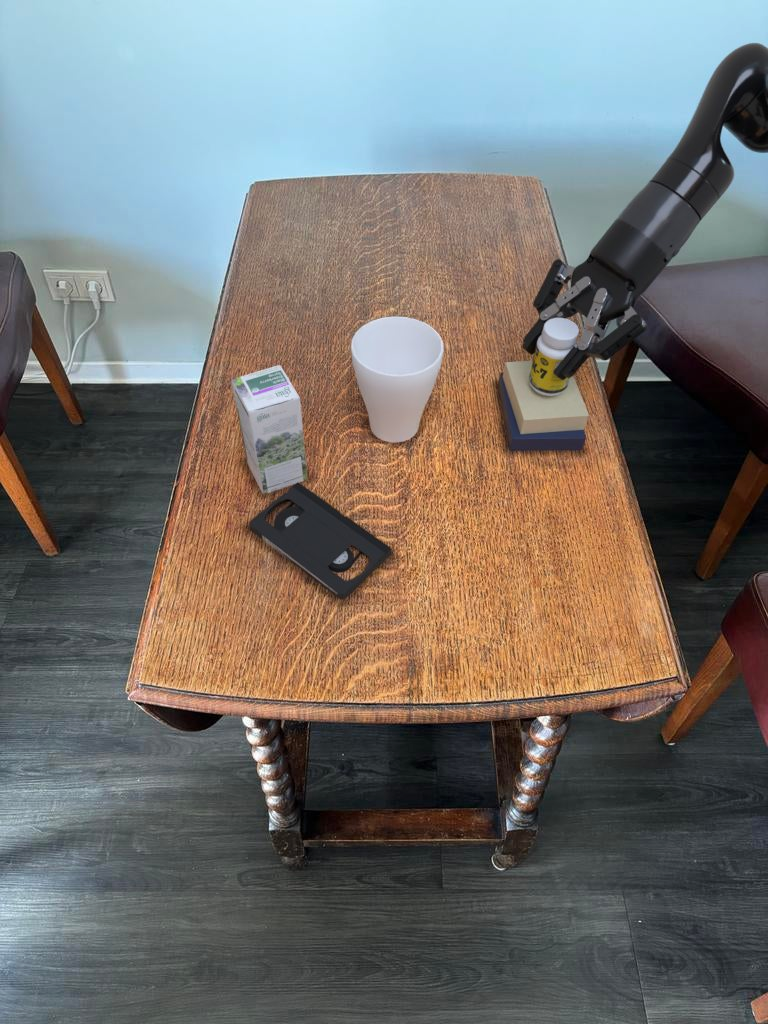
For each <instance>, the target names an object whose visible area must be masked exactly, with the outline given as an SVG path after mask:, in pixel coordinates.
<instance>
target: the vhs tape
mask: <svg viewBox="0 0 768 1024" xmlns="http://www.w3.org/2000/svg"><path fill="white" fill-rule="evenodd" d="M286 500H290V501H291V502H290V503H289V504H288V505H286V506H285V507H284V508H283V509H282V510H281V511H279V512H278V513H277V514H276V516H275V517H274V519H273V525H272V524H271V523H269V522H268V521H267V520H266V519H265V518H266V516H267V515H268V514H270V513H271V512H272V511H273V510H275V508H277V507H278V506H279V505H280V504H282V503H283V502H284V501H286ZM295 505H296V506H295ZM249 528H250V531H251V532H252V533H253V534H254V535H256V536H257V537H258V538H260V539H261V540H262V541H263V542H265V543H266V544H267V545H269V546H270V547H271V548H273V549H274V550H275V551H277V552H278V553H279V554H281V556H283V557H284V558H285V559H287V560H288V561H289V562H291V563H292V564H294V566H295V567H297V568H299V569H300V570H301V571H303V573H305V574H306V575H308V576H309V577H310V578H311V579H313V580H314V581H315V582H316V583H318V584H319V585H321V587H323V588H325V589H326V590H327V591H329V593H331V594H332V595H333V596H335V597H336V598H337V599H339V600H341V601H343V600H346V599H347V598H348V597H349V596H350V595H351V594H352V593H353V592H354V591H355V590H356V589H357V588H358V587H359V586H360V585H361V584H362V583H363V582H364V581H365V580H367V579H368V578H369V577H370V575H372V574H373V573H374V572H375V571H376V570H377V569H378V568H379V567H380V566H381V565H382V564H383V563H384V562H385V561H386V560H387V559H389V557H391V555H392V547H390V546H389V545H387V544H386V543H384V542H383V541H382V540H380V538H377V537H376V536H375V535H373V534H372V533H371V532H369V531H368V530H366V529H365V528H363V527H362V526H360V525H359V524H358V523H357V522H355V521H354V520H352V519H351V518H349V517H348V516H347V515H344V514H343V513H341V511H339V510H338V509H336V508H335V507H334V506H332V505H331V504H329V503H328V502H327V501H325V500H324V499H322V498H321V497H320V496H318V495H316V493H314V492H312V491H311V490H310V489H308V488H307V487H306V486H304V485H303V484H301V482H299V483H298V482H297V483H296V484H293V485H291V487H290V488H289V489H288V490H287V492H284V493H283V494H282V495H280V496H279V497H278V498H277V499H276V500H274V501H273V502H272V503H270V504H269V505H268V506H267V507H266V508H265V509H263V510H262V511H261V512H260V513H258V514H257V515H255V516H254V517H253V518H252V519H251V520H250V521H249ZM351 546H353V547H354V548H356V549H357V550H358V553H357V554H356V556H355V557H354V553H353V551H352V550H351V548H350V547H351ZM362 554H364V555H365V556H367V557H368V558H369V562H368V564H367V566H366V567H365V569H364V570H363V571H362V572H360V574H358V575H356V576H355V577H353V578H350V579H348V580H346V579H344V578H342V577H341V576H339V575H338V574H337V573H339V574H340V573H342V574H343V573H345V572H348V571H349V570H350V569H352V568H353V565H354V564H355V563H356V561H357V560H358V559H359V557H360V556H361V555H362Z"/></svg>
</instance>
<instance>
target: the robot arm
mask: <svg viewBox="0 0 768 1024" xmlns="http://www.w3.org/2000/svg"><path fill="white" fill-rule="evenodd" d="M723 128H725V129H726V130H727V131H728V132H729V133H730V134H731V135H732V136H733V137H734V138H735V139H737V141H739V143H740V144H742V146H744V147H745V149H748V150H749V151H751V152H753V153H758V154H759V153H760V154H768V47H767V46H765V45H764V44H762V43H760V42H750V43H745V44H743V45H741V46H739V47H737V48H735V49H734V50H732V51H731V52H729V54H727V55H726V56H725V57H724V58H723V59H722V60H721V61H720V62H719V64H718V65H717V66H716V68H715V70H714V71H713V73H712V74H711V75H710V78H709V80H708V81H707V83H706V85H705V87H704V90H703V92H702V93H701V96H700V98H699V101H698V103H697V105H696V108H695V110H694V112H693V113H692V116H691V118H690V120H689V122H688V124H687V126H686V127H685V130H684V132H683V134H682V135H681V137H680V139H679V140H678V142H677V143H676V146H675V147H674V149H673V150H672V151H671V153H670V154H669V155H668V156H667V158H666V159H665V160H664V162H663V163H662V164H661V165H660V167H659V168H658V169H657V170H656V172H655V173H654V174H653V176H652V177H651V178H650V180H649V181H648V182H647V183H646V184H645V185H644V186H643V187H642V188H641V190H640V191H638V193H636V195H634V196H633V198H631V200H630V201H629V202H628V204H627V205H626V206H625V207H624V208H623V210H622V211H621V212H620V213H619V215H618V216H617V217H616V218H615V220H614V221H613V222H612V224H611V225H610V226H609V227H608V229H606V231H605V232H604V234H603V235H602V236H601V237H600V239H599V240H598V241H597V243H596V244H594V246H593V247H592V249H591V251H590V253H589V255H588V257H587V259H586V260H585V261H583V262H582V263H580V264H578V265H577V266H573V265H569V264H565V262H563V260H562V259H560V258H557V259H555V260H554V261H553V262H552V264H551V266H550V267H549V270H548V272H547V274H546V276H545V278H544V280H543V281H542V284H541V286H540V288H539V289H538V292H537V293H536V296H535V298H534V300H533V302H532V305H533V307H534V308H535V309H536V311H537V313H538V319H537V321H536V322H535V323H534V325H532V327H531V329H530V330H529V331H528V332H527V334H526V335H524V338H523V340H522V342H523V344H522V346H521V348H522V349H523V350H524V351H525V352H527V353H528V354H530V355H534V353H535V349H536V344H537V340H538V338H539V337H540V336H541V335H542V331H543V327H544V324H545V323H546V322H547V321H548V320H550V319H553V318H565V319H569V318H572V317H573V316H575V315H576V314H579V315H581V316H584V317H585V318H586V319H585V321H584V323H583V331H582V334H581V336H580V339H579V341H578V342H577V344H578V347H577V348H575V347H573V348H572V349H571V350H570V352H569V353H568V354H567V355H566V356H565V358H564V359H563V360H562V361H561V362H560V364H559V365H558V366H557V367H556V369H555V370H554V372H553V374H554V375H556V376H557V377H558V378H560V379H561V380H564V379H566V378H568V379H569V378H570V377H572V376H573V377H574V375H576V373H577V371H579V369H580V368H581V367H582V366H583V365H584V363H585V362H586V361H587V360H588V359H589V358H597V359H599V360H601V361H608V360H609V359H611V358H612V357H614V356H615V355H616V354H618V353H619V352H620V351H621V350H622V349H624V348H625V347H626V346H627V345H629V344H630V343H631V342H633V341H634V340H635V339H637V338H638V337H639V336H641V334H643V333H645V332H646V331H647V329H648V323H647V322H646V320H645V319H644V318H643V317H642V316H641V315H640V314H639V313H637V311H636V310H635V307H636V304H637V300H638V298H640V296H641V295H642V294H644V293H645V292H646V291H647V290H648V288H649V287H650V286H651V285H652V283H653V282H654V281H655V280H656V279H657V277H659V275H660V274H661V273H662V272H663V270H664V269H665V268H666V267H667V266H668V264H669V263H670V262H671V261H672V260H673V258H675V257H676V256H677V255H678V254H679V252H680V251H681V249H682V248H683V247H684V245H686V243H687V241H688V240H689V239H690V237H691V235H692V234H693V233H694V231H695V229H696V228H697V226H699V224H700V222H701V221H702V220H703V219H704V218H705V216H706V215H707V214H708V213H709V212H710V210H712V208H713V207H714V206H715V204H716V203H717V201H719V200H720V199H721V197H722V196H723V195H724V194H725V192H726V191H727V190H728V189H729V187H730V186H731V184H732V183H733V181H734V178H735V169H734V166H733V164H732V161H731V160H730V158H729V156H728V155H727V152H726V151H725V149H724V147H723V145H722V140H721V137H722V132H723ZM569 281H571V282H570V287H569V289H567V290H565V291H564V292H563V293H561V292H562V289H563V287H564V285H567V284H569ZM560 293H561V294H560ZM622 317H623V318H622ZM619 318H622V319H621V321H620V323H619V325H618V326H617V327H616V328H615V329H614V330H612V331H611V332H609V334H607V331H608V328H609V326H610V324H611V321H614V320H617V319H619ZM606 334H607V335H606Z"/></svg>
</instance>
